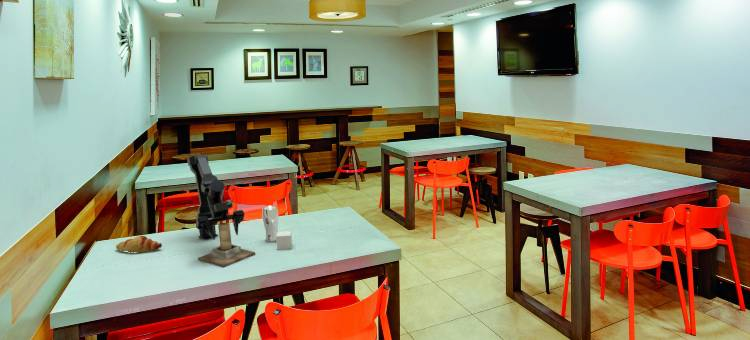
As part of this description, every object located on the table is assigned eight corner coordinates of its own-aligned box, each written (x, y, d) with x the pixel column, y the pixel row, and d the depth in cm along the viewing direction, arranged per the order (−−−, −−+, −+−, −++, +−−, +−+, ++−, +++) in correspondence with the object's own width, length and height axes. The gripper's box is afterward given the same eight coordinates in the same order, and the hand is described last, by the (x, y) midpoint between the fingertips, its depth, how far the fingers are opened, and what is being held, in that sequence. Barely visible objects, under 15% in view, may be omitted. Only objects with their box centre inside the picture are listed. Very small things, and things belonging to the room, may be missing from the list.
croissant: (113, 260, 204) (105, 247, 199) (124, 242, 211) (117, 230, 206) (160, 259, 202) (153, 246, 197) (169, 241, 209) (162, 229, 205)
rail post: (223, 252, 195) (220, 222, 192) (233, 252, 194) (231, 222, 192) (219, 256, 190) (216, 226, 188) (230, 256, 190) (227, 225, 188)
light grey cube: (292, 244, 206) (291, 231, 205) (291, 248, 200) (290, 235, 199) (278, 245, 205) (277, 232, 204) (277, 249, 200) (276, 236, 198)
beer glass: (281, 237, 216) (279, 205, 213) (277, 242, 209) (274, 209, 206) (267, 237, 217) (264, 205, 214) (262, 242, 210) (259, 209, 207)
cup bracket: (230, 247, 204) (229, 239, 203) (255, 254, 195) (254, 245, 194) (198, 259, 191) (197, 250, 190) (223, 267, 182) (222, 257, 181)
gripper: (194, 197, 186) (204, 231, 179) (241, 191, 196) (251, 222, 189) (192, 212, 194) (201, 245, 187) (237, 205, 204) (247, 236, 197)
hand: (225, 236), depth 190 cm, fingers open, 9 cm apart
